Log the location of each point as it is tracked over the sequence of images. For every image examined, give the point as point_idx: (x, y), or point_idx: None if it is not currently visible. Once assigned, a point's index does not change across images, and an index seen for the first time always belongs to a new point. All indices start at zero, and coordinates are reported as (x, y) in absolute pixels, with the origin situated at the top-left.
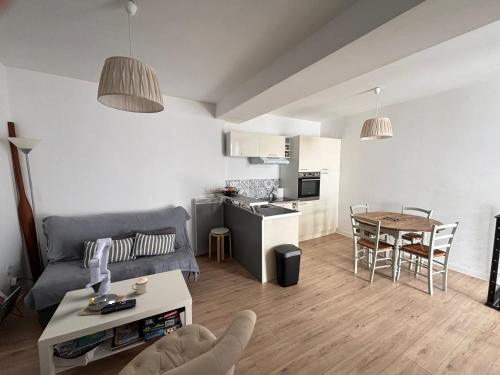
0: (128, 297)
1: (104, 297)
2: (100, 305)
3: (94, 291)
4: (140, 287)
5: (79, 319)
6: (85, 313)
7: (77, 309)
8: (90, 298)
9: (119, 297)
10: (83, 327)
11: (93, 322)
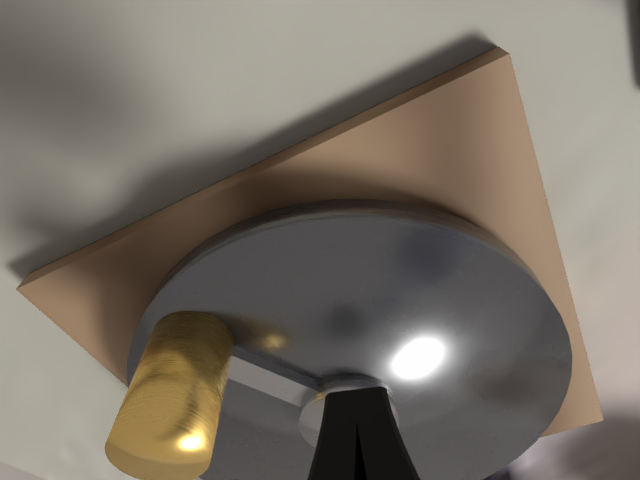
0: (565, 449)
1: (439, 340)
2: (249, 447)
3: (321, 442)
4: None
5: (5, 339)
6: (83, 340)
7: (49, 52)
8: (150, 436)
9: None
10: (7, 462)
11: (99, 475)
